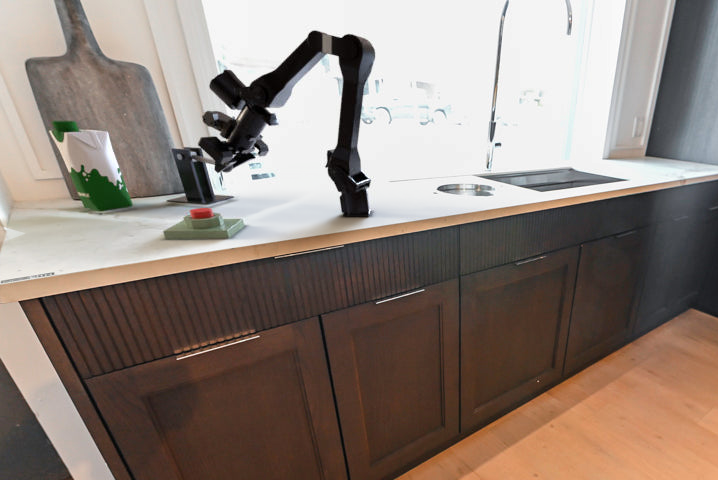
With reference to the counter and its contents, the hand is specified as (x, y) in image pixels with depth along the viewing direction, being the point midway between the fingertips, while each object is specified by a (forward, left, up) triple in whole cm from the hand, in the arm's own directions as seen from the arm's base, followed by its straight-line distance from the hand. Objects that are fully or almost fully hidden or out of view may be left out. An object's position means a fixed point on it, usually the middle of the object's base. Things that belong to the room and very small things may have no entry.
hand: (221, 170), depth 112 cm
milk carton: (+26, +6, -9) cm, 28 cm away
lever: (+4, -1, 0) cm, 4 cm away
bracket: (+8, -3, -9) cm, 12 cm away
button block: (-4, +28, -9) cm, 30 cm away
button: (-4, +28, -6) cm, 29 cm away
